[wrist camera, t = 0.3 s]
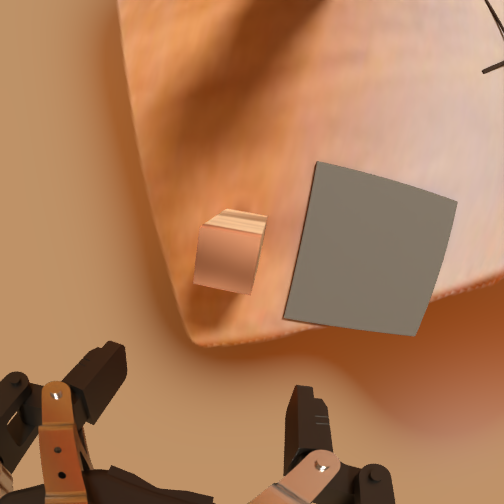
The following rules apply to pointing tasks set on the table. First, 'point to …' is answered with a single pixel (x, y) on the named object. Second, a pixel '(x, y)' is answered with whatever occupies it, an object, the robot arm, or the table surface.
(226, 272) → the birch block
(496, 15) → the sushi plate
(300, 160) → the table surface
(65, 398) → the robot arm
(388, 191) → the slate mat
